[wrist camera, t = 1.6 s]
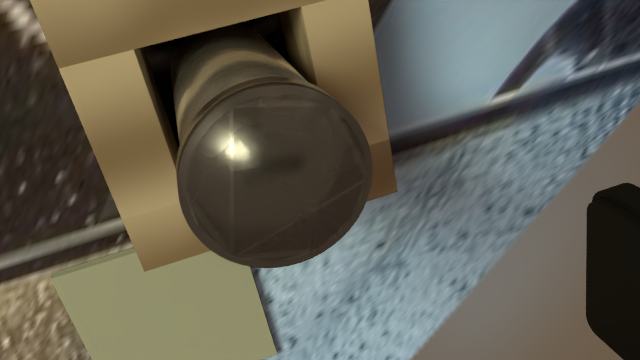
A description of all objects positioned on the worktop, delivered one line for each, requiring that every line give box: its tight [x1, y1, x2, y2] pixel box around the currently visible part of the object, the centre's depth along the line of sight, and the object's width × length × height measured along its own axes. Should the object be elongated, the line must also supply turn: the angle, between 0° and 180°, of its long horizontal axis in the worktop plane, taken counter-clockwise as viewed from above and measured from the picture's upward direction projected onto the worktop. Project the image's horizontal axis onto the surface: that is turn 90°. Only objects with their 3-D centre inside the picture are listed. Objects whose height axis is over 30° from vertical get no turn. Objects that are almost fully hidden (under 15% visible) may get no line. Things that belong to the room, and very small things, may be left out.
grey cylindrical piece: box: [171, 23, 373, 268], centre depth 20 cm, size 5×5×12 cm
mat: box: [50, 248, 277, 360], centre depth 29 cm, size 9×9×1 cm
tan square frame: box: [30, 0, 397, 272], centre depth 23 cm, size 11×11×5 cm
